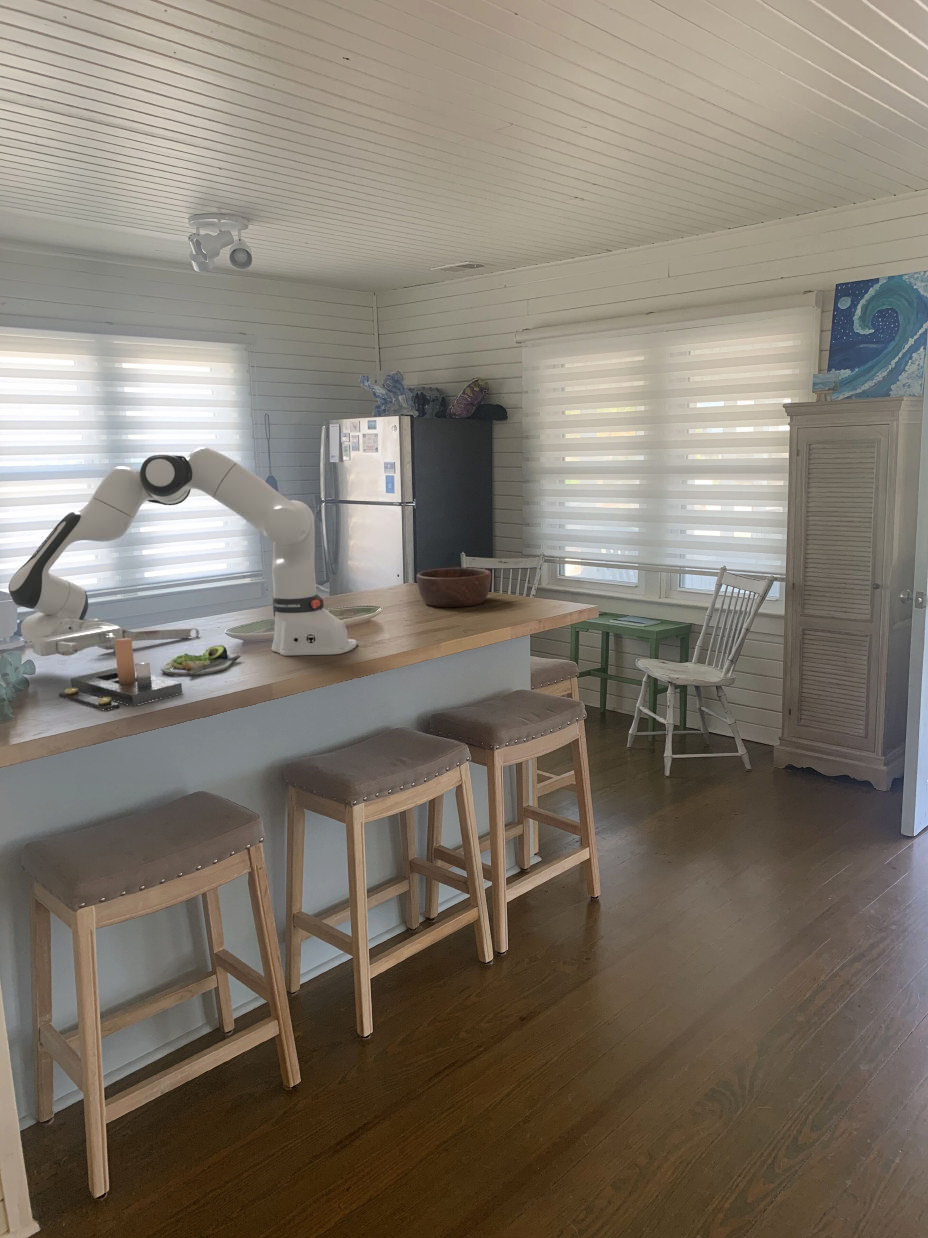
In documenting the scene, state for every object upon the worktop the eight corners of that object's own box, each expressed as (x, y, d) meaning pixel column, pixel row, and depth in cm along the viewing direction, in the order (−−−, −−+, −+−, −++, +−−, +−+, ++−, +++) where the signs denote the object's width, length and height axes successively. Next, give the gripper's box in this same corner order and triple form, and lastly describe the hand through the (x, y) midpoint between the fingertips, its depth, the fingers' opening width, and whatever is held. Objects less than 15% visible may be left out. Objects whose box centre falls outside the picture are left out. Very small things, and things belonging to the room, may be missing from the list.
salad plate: (224, 679, 212) (223, 660, 211) (149, 681, 212) (147, 662, 212) (245, 659, 231) (243, 642, 230) (176, 661, 231) (174, 644, 231)
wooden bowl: (411, 599, 311) (410, 570, 309) (481, 594, 317) (480, 565, 315) (425, 612, 288) (424, 580, 286) (500, 606, 293) (500, 575, 291)
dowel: (140, 689, 204) (134, 638, 201) (131, 694, 200) (125, 641, 198) (125, 689, 204) (120, 637, 202) (116, 693, 201) (111, 641, 199)
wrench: (199, 647, 260) (93, 653, 240) (196, 646, 261) (91, 652, 241) (199, 619, 259) (94, 623, 239) (196, 618, 260) (91, 623, 240)
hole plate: (50, 693, 203) (46, 661, 201) (119, 677, 216) (116, 646, 214) (111, 712, 186) (107, 677, 185) (182, 693, 199) (179, 660, 198)
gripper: (19, 631, 208) (48, 638, 200) (102, 617, 224) (132, 623, 215) (22, 657, 209) (51, 666, 201) (105, 642, 225) (135, 649, 216)
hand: (94, 644), depth 208 cm, fingers open, 8 cm apart
